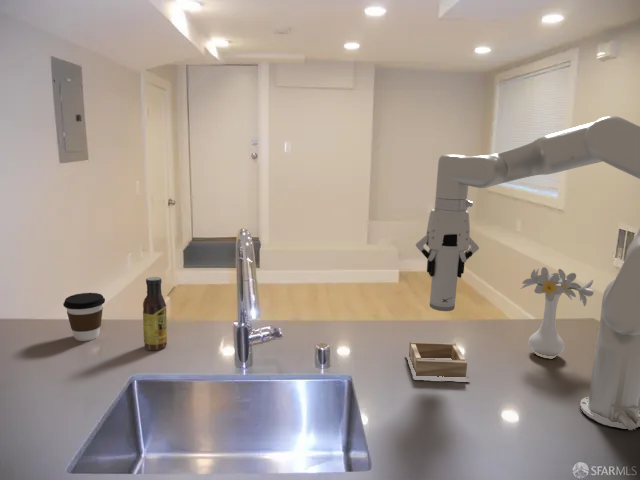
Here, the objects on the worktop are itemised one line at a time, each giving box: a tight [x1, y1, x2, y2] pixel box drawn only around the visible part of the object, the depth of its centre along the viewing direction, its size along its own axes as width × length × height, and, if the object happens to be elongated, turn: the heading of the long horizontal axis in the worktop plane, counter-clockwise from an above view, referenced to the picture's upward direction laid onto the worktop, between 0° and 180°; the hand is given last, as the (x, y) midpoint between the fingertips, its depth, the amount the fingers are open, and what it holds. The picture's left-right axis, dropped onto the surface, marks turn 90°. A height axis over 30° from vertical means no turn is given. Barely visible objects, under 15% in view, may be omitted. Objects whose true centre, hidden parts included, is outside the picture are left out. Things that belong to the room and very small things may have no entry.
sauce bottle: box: [142, 276, 168, 351], centre depth 140 cm, size 6×6×20 cm
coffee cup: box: [63, 292, 106, 342], centre depth 146 cm, size 11×11×12 cm
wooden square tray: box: [408, 340, 468, 377], centre depth 133 cm, size 14×14×5 cm
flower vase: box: [520, 266, 594, 356], centre depth 142 cm, size 13×18×25 cm
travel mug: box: [429, 234, 460, 312], centre depth 128 cm, size 6×7×20 cm
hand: (444, 275), depth 128 cm, fingers closed on travel mug, 6 cm apart
